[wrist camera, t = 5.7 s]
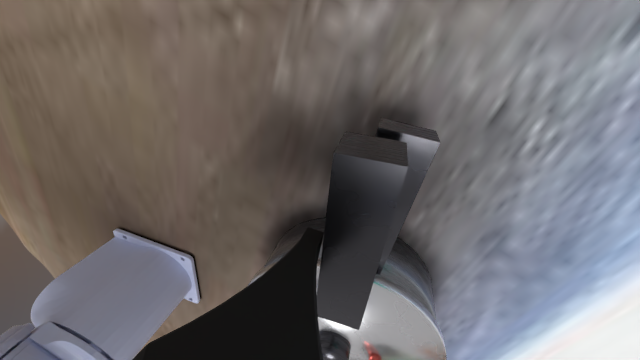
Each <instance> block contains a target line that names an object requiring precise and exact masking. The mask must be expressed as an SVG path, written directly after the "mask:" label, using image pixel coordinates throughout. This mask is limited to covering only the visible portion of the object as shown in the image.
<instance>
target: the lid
mask: <svg viewBox="0 0 640 360" xmlns="http://www.w3.org/2000/svg"><path fill="white" fill-rule="evenodd" d="M407 169H408V157H407V142H402V141H397V140H391V139H385V138H379V137H374V136H368V135H362V134H356V133H351V132H345V134H344V136H343V138H342V139H341V141H340V143H339V144H338V146H337V148H336V150H335V151H334V154H333V163H332V171H331V179H330V188H329V196H328V205H327V213H326V221H325V230H324V238H323V247H322V255H321V258H318V261H317V274H316V292H317V312H318V324H319V334H320V341H321V348H322V356H323V360H446V350H445V343H444V339H443V335H442V331H441V329H440V327H439V325H438V323H437V321H436V320H435V319H434V317H433V316H432V314H431V313H430V312H429V311H428V310H427V309H426V308H425V306H424V305H423V304H422V303H421V302H420V301H418V300H417V299H416V298H415V297H414V296H412V295H411V294H410V293H409V292H407V291H406V290H404V289H403V288H401V287H400V286H398V285H397V284H395V283H394V282H392V281H390V280H388V279H386V278H384V277H382V276H381V275H378V274H376V272H377V269H378V266H379V262H380V259H381V255H382V252H383V249H384V245H385V242H386V239H387V235H388V232H389V229H390V225H391V222H392V219H393V215H394V212H395V209H396V205H397V202H398V199H399V195H400V192H401V189H402V185H403V182H404V179H405V175H406V172H407ZM276 263H277V262H275V263H272V264H270V265H268V266H266V267H264V268H263V269H261V270H260V271H259V272H258V273H256V274H255V276H254V277H253V278H252V280H251V281H250V283H249V284H248V286H249V285H250V284H251V283H253V282H254V281H255V280H257V279H258V278H259V277H260V276H262V275H263V274H264V273H265V272H266V271H268V270H269V269H270V268H271V267H272V266H273V265H275V264H276Z"/></svg>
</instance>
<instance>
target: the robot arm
mask: <svg viewBox="0 0 640 360" xmlns="http://www.w3.org/2000/svg"><path fill="white" fill-rule="evenodd" d="M113 233H114V236H115V237H114V238H113V239H111V240H110V241H108V242H107V243H105V244H104V245H103V246H101V247H100V248H98V249H97V250H95V251H94V252H93V253H91V254H90V255H88V256H87V257H85V258H84V259H83V260H81V261H80V262H78V263H77V264H75V265H74V266H73V267H71V268H70V269H68V270H67V271H65V272H64V273H63V274H61V275H60V276H58V277H57V278H56V279H54V280H53V281H52V282H51V283H50V284H49V285H48V286H47V287H46V288H45V289H44V290H43V291H42V292H41V293H40V295H39V296H38V297H37V299H36V300H35V302H34V304H33V307H32V310H31V320H32V323H33V324H34V326H35V327H36V328H35V327H34V326H33V325H32V324H31V323H27V324H25V325H18V326H13V327H12V328H10V329H9V330H7V331H6V332H5V333H3V334H2V335H1V336H0V360H323V356H322V348H321V341H320V334H319V324H318V312H317V292H316V274H317V261H318V257H319V253H320V248H321V244H322V240H323V235H324V232H322V231H319V230H316V229H313V228H309V227H308V228H307V229H306V231H305V232H304V234H303V236H302V237H301V239H300V240H299V241H298V242H297V243H296V245H295V246H294V247H293V248H292V249H291V250H290V251H289V252H288V253H287V254H285V255H284V256H283V257H282V258H281V259H280V260H279V261H278V262H277V263H276V264H275V265H273V266H272V267H271V268H270V269H269V270H268V271H266V272H265V273H264V274H263V275H262V276H260V277H259V278H258V279H257V280H255V281H254V282H253V283H251V284H250V285H249V286H247V287H246V288H244V289H243V290H242V291H240V292H239V293H237V294H236V295H234V296H233V297H231V298H230V299H228V300H227V301H225V302H224V303H222V304H220V305H219V306H217V307H216V308H214V309H212V310H210V311H209V312H207V313H205V314H204V315H202V316H200V317H198V318H197V319H195V320H193V321H191V322H190V323H188V324H186V325H184V326H182V327H180V328H178V329H176V330H174V331H172V332H170V333H168V334H166V335H164V336H162V337H160V338H158V339H156V340H154V341H152V342H150V343H149V344H147V345H146V346H145V347H144V348H143V349H142V347H143V346H144V345H145V344H146V343H147V341H148V340H149V339H150V338H151V337H152V335H153V334H154V333H155V332H156V331H157V329H158V328H159V327H160V326H161V325H162V323H163V322H164V321H165V320H166V319H167V317H168V316H169V315H170V314H171V313H172V311H173V310H174V309H175V308H176V307H177V305H178V304H179V303H180V302H181V301H182V299H183V298H184V299H186V300H189V301H191V302H194V303H199V301H200V295H199V289H198V283H197V277H196V271H195V265H194V259H193V257H192V256H190V255H188V254H185V253H183V252H180V251H177V250H175V249H172V248H169V247H167V246H164V245H161V244H159V243H156V242H153V241H151V240H148V239H145V238H142V237H140V236H137V235H134V234H132V233H129V232H126V231H124V230H121V229H115V230H114V231H113ZM34 328H35V329H34ZM141 349H142V350H141ZM140 350H141V351H140ZM139 351H140V352H139ZM138 352H139V353H138Z"/></svg>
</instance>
